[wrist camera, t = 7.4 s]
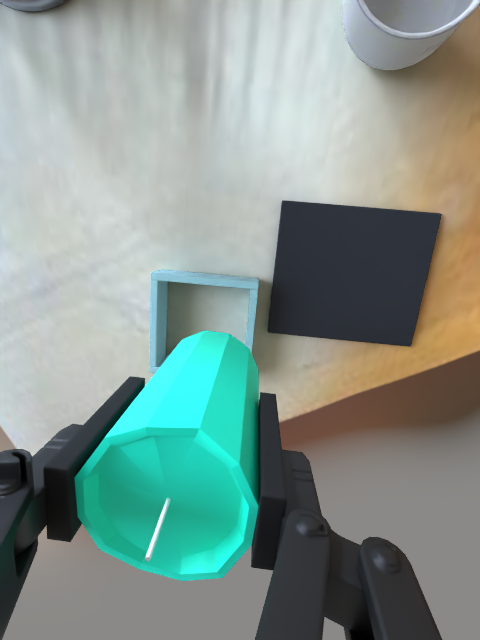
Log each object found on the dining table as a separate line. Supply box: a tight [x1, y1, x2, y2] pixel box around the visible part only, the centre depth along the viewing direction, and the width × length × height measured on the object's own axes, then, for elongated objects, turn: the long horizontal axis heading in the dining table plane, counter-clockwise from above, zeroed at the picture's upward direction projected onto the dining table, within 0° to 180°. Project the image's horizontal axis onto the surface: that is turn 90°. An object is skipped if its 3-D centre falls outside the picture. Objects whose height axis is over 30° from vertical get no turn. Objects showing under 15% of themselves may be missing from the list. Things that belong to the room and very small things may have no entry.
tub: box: [149, 269, 259, 373], centre depth 36 cm, size 12×12×4 cm
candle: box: [75, 330, 259, 581], centre depth 14 cm, size 6×6×12 cm
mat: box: [268, 201, 442, 346], centre depth 36 cm, size 17×15×1 cm
